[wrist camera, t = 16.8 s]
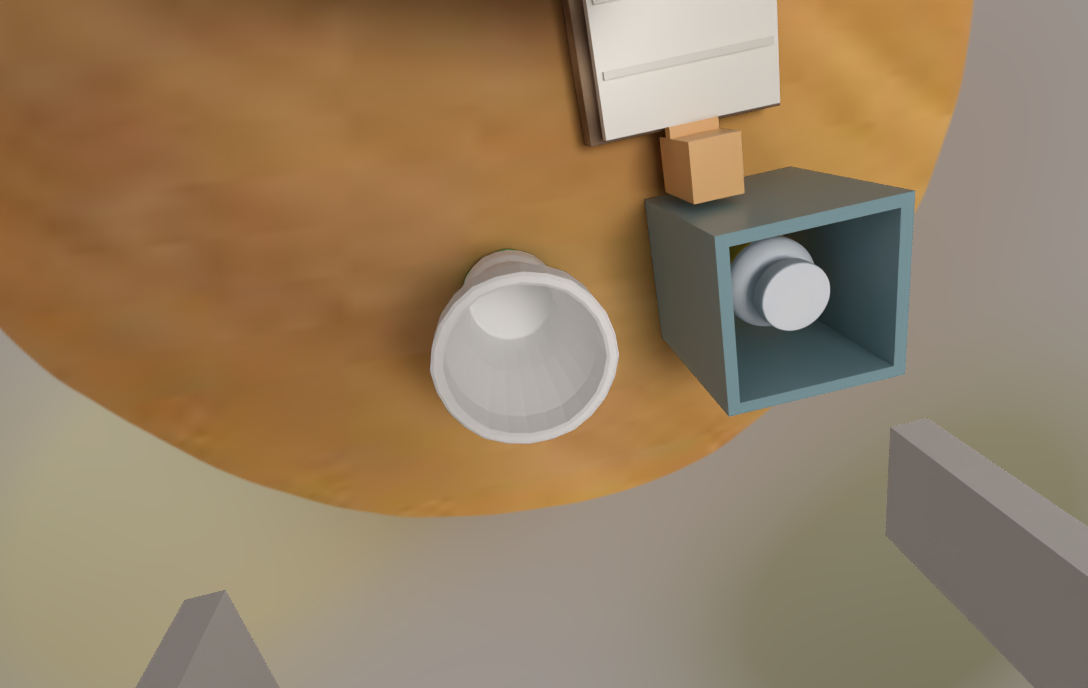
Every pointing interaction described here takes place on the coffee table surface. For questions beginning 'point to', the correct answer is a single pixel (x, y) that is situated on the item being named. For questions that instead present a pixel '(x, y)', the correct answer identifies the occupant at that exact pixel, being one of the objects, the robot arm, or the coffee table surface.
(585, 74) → the board
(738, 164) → the lid
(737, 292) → the pill bottle
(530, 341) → the cup
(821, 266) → the tub
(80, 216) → the coffee table surface
